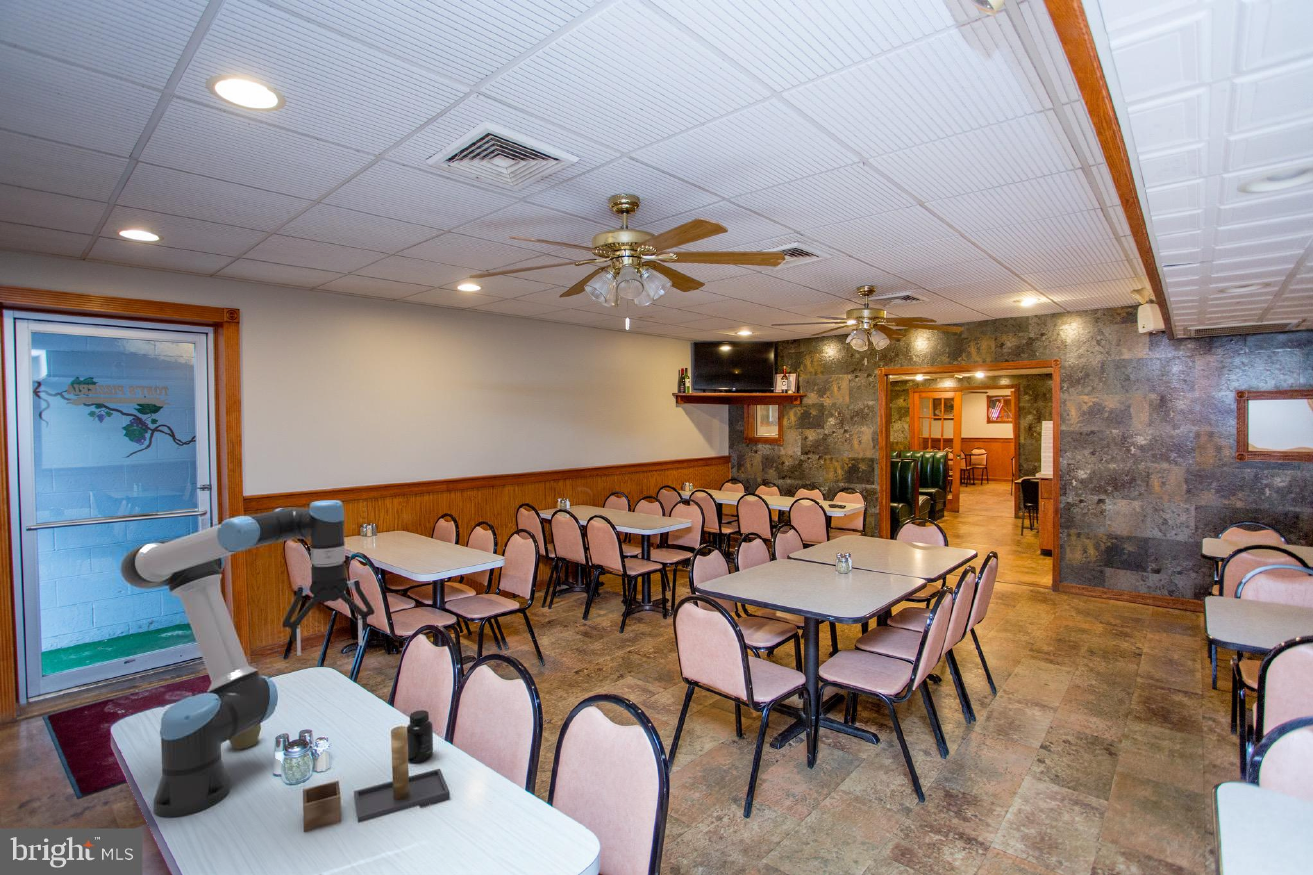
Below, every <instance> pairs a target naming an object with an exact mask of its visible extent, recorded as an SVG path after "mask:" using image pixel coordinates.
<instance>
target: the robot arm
mask: <svg viewBox="0 0 1313 875" xmlns="http://www.w3.org/2000/svg"><path fill="white" fill-rule="evenodd" d="M344 509H345V508H344V504H343V502H342V501H341V500H336V499H334V500H332V499H331V500H329V499H328V500H317V501H313V502H311V503H310V504H309V508H303V507H301V508H298V507H291V506H290V507H279V508H276V509H275V510H273V511H268V512H263V513H257V514H251V515H250V514H249V515H239V516H235V517H232V518H228V519H225V520H223V521H222V522H221V524H218V525H215V526H211V527H208V528H206V529H204V530H200V531H197V532H193V533H192V534H188V535H186V536H182V537H177V538H173V539H167V540H161V541H157V542H156V541H155V542H154V541H153V542H150V543H145V544H142V545H138V546H136V547H135V548H133V549H131V550H130V551H128V552H127V554H125V556H124V557H123V559H122V560H121V564H120V573H121V576H122V578H123V579H124V581H126V583H128V584H129V585H131V586H133V587H136V588H139V589H145V590H146V589H147V590H149V589H157V588H162V587H168V589H169V592H170V595H173V596H175V597H177V598H180V600H181V604H182V606H183V609H184V611H185V614H186V617H187V619H188V622H189V624H190V627H191V629H192V630H191V631H192V634H193V636H194V638H195V642H196V644H197V646H198V649H199V651H200V654H201V658H202V660H203V662H204V666H205V669H206V670H207V674H208V675H209V679H210V682H211V683H210V686H209V687H208V689H207V690H206V691H207V692H204V693H198V694H196V695H194V696H188V697H186V698H182V699H181V700H179V701H177V702H175V703H173V704H171V706H169V707H168V708H167V709H166V710H165V711H164V713H163V714H162V717H161V718H160V730H159V736H160V742H161V744H160V745H161V746H160V748H161V750H160V751H161V752H160V753H161V773H162V774H161V777H160V780H159V783H158V787H157V788H156V791H155V795H154V797H153V812H154V814H156V815H157V816H159V817H163V818H164V817H165V818H171V817H172V818H174V817H182V816H183V817H184V816H186V815H192V814H193V813H198V812H200V811H203V810H205V809H208V808H210V807H212V806H214V805H215V804H217V803H218V802H220V801H222V800H223V799H225V797H227V795H229V793H230V791H231V777H230V775H229V772H228V770H227V768H226V766H225V764H224V762H223V760H222V744H224V743H225V742H227V741H229V739H231V738H233V737H235V736H237V735H239V734H241V733H243V732H245V731H247V730H249V729H251V728H254V727H256V726H258V725H259V724H263V722H265V721H267V720H268V719H270V718H271V716H272V715H273V714H274V713H275V710H276V707H277V706H278V701H279V694H278V688H277V685H276V684H275V682H274V681H273V680H272V679H270V677H269V676H267V675H260V672H259V670H258V669H257V668H255V667H253V666H250V665H249V663H248V660H247V657H246V655H245V652H244V649H243V648H242V647H243V646H242V645H241V641H240V639H239V636H238V634H237V631H236V629H235V625H234V624H233V621H232V617H231V616H230V613H229V610H228V607H227V604H226V602H225V599H224V597H223V594H222V592H221V589H220V586H219V582H220V580H221V579H222V577H223V575H222V573H221V572H222V571H223V569H224V568H225V565H226V562H225V561H226V557H227V556H231V555H233V554H236V553H239V552H240V553H241V552H244V551H247V550H249V549H254V548H256V547H260V546H261V547H262V546H264V545H265V546H266V545H271V544H275V543H280V542H284V541H290V540H295V539H299V540H300V539H306V540H310V563H311V564H312V566H311V568H310V571H311V572H310V574H311V577H310V578H311V584H310V586H309V585H306V586H303V585H301V584H299V585H298V586H297V589H296V590H297V591H296V595H295V597H294V599H293V601H292V603H291V604H290V606H289V609H288V611H287V612H286V614H285V616H284V618H283V620H282V625H281V626H282V628H288V629H290V632H291V633H290V634H291V637H290V638H291V639H290V640H291V643H292V642H293V643H294V642H296V651H297V652H296V656H302V651H301V650H302V645H301V644H302V643H301V642H302V641H301V639H302V638H301V623H302V622H303V620H305V618H306V616H307V615H308V614H309V613H310V612H311V611H312V610H313V608H314V607H315V606H316V605H317V604H318V603H319V602H321V603H328V602H336V601H338V600H341V601H343V602H344V603H345V604H346V605H347V606H348V607H350V608H351V609H352V610H353V611H354V612H355V613H356V614H357V615H358V616H357V629H358V630H357V631H358V632H357V634H358V641H357V642H358V645H359V646H363V644H364V643H363V642H364V640H363V637H364V636H363V632H365V631H367V630H368V617H369V616H373V615H374V614H375V613H376V612H375V609H374V607H373V606H372V604H371V603H370V601H369V600H368V597H367V596H366V595H365V593H364V591H363V590H362V587H361V583H360V580H359V578H354V579H353V580H349V581H347V579H346V578H347V577H346V563H345V562H344V561H346V548H345V547H346V546H345V545H346V544H345V518H346V515H345V510H344ZM348 587H350V588H351V589H352V590H355V592H356V594H357V595H358V597H359V599H360V600H361V602H362V604H363V606H364V607H365V608H366V610H364V609H363V608H362V607H360V606H359V605H358V603H356V602H355V601H354V600H353V599H352V598H350V596H349V595H348V594H347V593H346V592H345V591H347V589H348ZM308 592H310V593H311V594H312V595H313V596H312V597H311V598H310V600H309V601H308V602H307V604H306V605H304V607H303V609H302V610H301V611H300V612H299V613H298V614H297V616H296V617H295V618H294V619H293V620H292V618H293V616H294V615H295V612H296V611H297V609H298V608H299V607H298V606H299V605H300V603H301V600H302V598H303V597H304V596H306V595H307V593H308ZM291 620H292V621H291Z"/></svg>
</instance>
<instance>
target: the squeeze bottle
mask: <svg viewBox="0 0 1313 875" xmlns="http://www.w3.org/2000/svg"><path fill="white" fill-rule="evenodd" d="M261 724H262V723H260V724H259V725H258V726H256V727H254V728H251V729H249V730H247V731H245V732H243V733H241V734H239V735H237V736H235V737H233V738H231V739H229V740H228V741H229V743H230V746H231V748H232V749H234V750H244V749H247V748H251V747H253V746H255V744H257V743H258V740H259V736H260V732H261V729H262V726H261Z"/></svg>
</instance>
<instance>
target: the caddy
mask: <svg viewBox="0 0 1313 875" xmlns="http://www.w3.org/2000/svg"><path fill="white" fill-rule="evenodd" d="M340 788H341V787H340V781H339V780H334V781H331V782H327V783H322V784H319V785H315V786H312V787H308V788H303V789H302V818H303V833H306V832H310V831H313V830H316V829H317V830H318V829H321V828H324V827H327V826H330V825H334V824H337V823H341V822H342V803H341V801H342V800H341V799H342V798H341V796H342V795H341V789H340Z"/></svg>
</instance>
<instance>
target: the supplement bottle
mask: <svg viewBox="0 0 1313 875" xmlns="http://www.w3.org/2000/svg"><path fill="white" fill-rule="evenodd" d="M406 727H407V742H408V763H411V764H421V763H422V764H423V763H425V762H428V761H429V760H431V759H432V757H433V755H434V733H433V732H434V726H433V723H432V722H431V721H430V716H429V711H428V710H424V709H423V710H422V709H421V710H415V711H413V712H411V713H410V714H409V723H408V725H407V726H406Z"/></svg>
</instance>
